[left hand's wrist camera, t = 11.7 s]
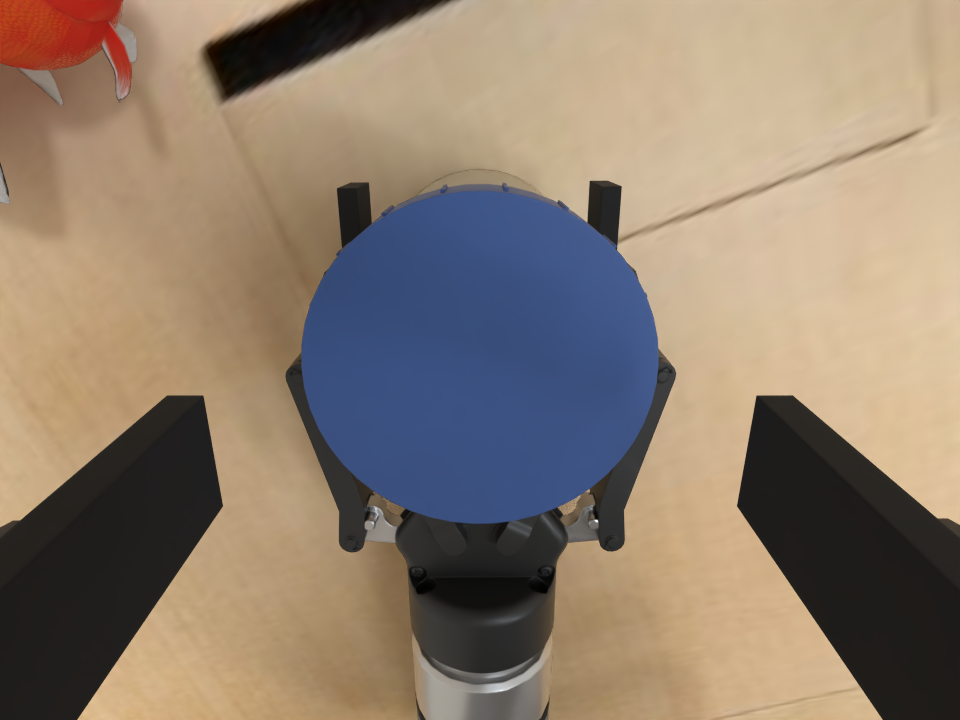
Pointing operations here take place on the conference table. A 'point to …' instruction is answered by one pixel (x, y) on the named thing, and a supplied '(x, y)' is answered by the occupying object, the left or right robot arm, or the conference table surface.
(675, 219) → the conference table surface
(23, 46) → the fish
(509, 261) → the lid
